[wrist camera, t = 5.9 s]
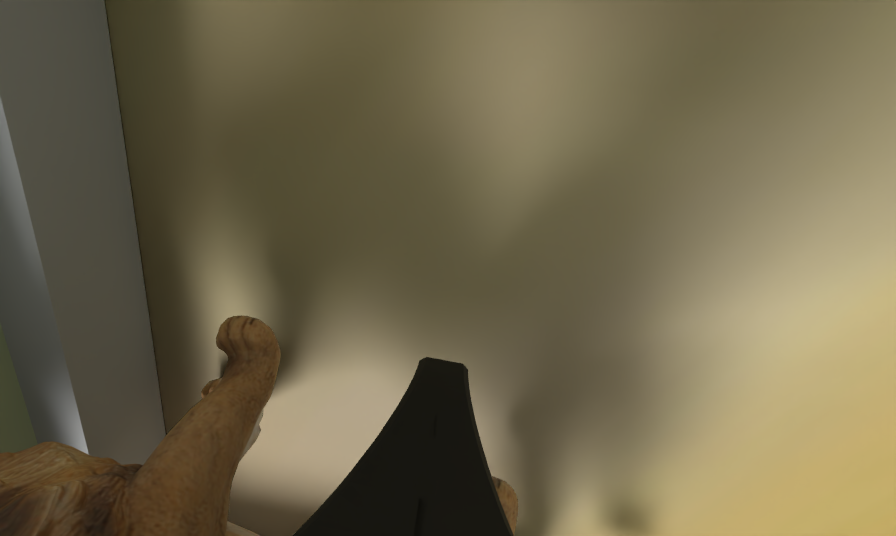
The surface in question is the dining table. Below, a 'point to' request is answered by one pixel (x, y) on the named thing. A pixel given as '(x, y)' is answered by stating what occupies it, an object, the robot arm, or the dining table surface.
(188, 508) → the lion figurine
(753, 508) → the dining table surface
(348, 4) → the dining table surface
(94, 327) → the l-rail base plate
